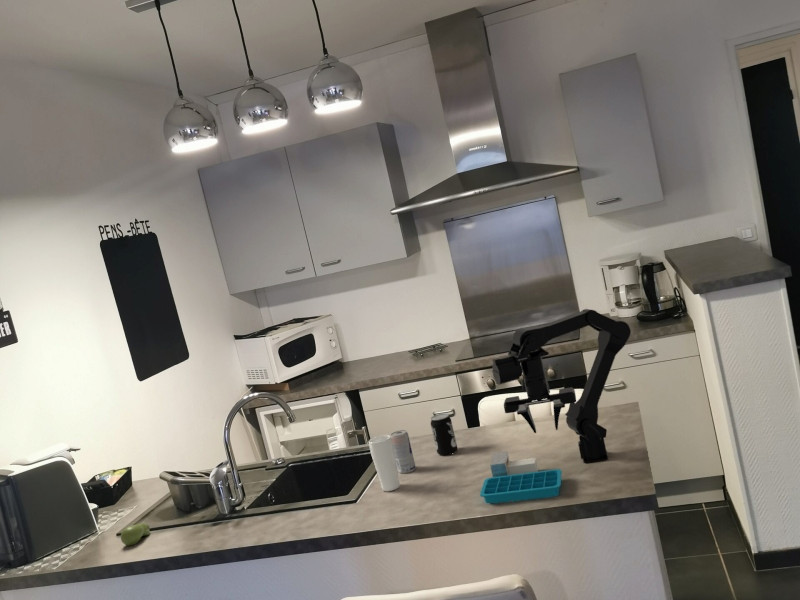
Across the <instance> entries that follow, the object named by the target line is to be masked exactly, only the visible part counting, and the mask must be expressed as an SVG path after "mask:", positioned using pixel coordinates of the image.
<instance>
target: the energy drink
mask: <svg viewBox="0 0 800 600" xmlns="http://www.w3.org/2000/svg"><path fill="white" fill-rule="evenodd" d="M390 436H391V439H392V442H393V446H394V451H395V458H396V465H397V471H398V473H400V474H402V475H403V474H409V473H412V472H414V471H415V470H416V464H415V463H416V461H415V457H414V455H413V454H414V452H413V451H412V450H413V449H412V446H411V441H410V437H409V433H408V431H407V430H405V429H401V430H396V431H394V432H392V433H391V434H390Z"/></svg>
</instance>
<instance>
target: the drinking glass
mask: <svg viewBox="0 0 800 600" xmlns="http://www.w3.org/2000/svg"><path fill="white" fill-rule="evenodd" d="M368 447H369V451H370V455H371V457H372V461H373V464H374V467H375V470H376V473H377V476H378V479H379V483H380V486H381V490H382V491H383V492H392V491H395V490H397V489H398V488H400V486H401V483H400V479H399V470H398V466H397V462H396V458H395V451H394V446H393V442H392V439H391V434H390V435H389V434H383V435H377V436H375V437H372V438H370V439H369V440H368Z"/></svg>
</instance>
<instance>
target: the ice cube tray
mask: <svg viewBox="0 0 800 600" xmlns="http://www.w3.org/2000/svg"><path fill="white" fill-rule="evenodd" d="M562 472H563V471H562V470H561V469H558V468H556V469H555V468H554V469H549V470H548V469H547V470H540V471H539V470H538V472H531V473H523V474H515V475H507V476H499V477H493V476H492V477H487V478H485V479H484V481H483V483H482V487H481V490H480V493H479V496H480V497H481V498H484V502H485V504H486V503H495V504H499V503H498V502H504V503H509V502H508V501H512V502H518V500H521V501H528V499H530V500H537V499H546V498H554V497H557V496H559V495H560V487H561V485H562Z"/></svg>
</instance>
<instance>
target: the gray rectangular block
mask: <svg viewBox="0 0 800 600" xmlns="http://www.w3.org/2000/svg"><path fill="white" fill-rule="evenodd" d="M509 461H511V460H510V457H509V452H508V450H505V451H500V452H493V454H492V457H491V460H490V464H489V465H490V470H491V471H490V472H491V474H492V477H499V476H507V475H509V474H508V470H507V465H506V462H509Z"/></svg>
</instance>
